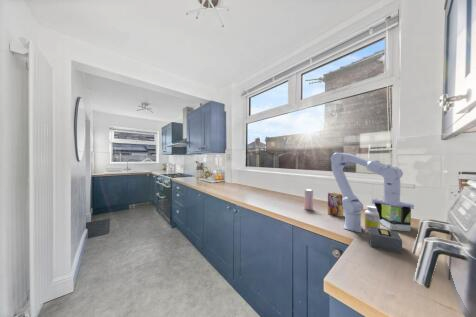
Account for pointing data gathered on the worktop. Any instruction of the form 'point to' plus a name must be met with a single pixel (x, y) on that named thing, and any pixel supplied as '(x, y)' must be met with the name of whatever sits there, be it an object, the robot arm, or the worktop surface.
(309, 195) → the beverage can
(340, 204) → the candy box
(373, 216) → the supplement bottle
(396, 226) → the tea box
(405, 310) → the worktop surface
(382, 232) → the yellow flat block
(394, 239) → the coin box
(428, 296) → the worktop surface
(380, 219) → the robot arm
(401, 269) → the worktop surface
